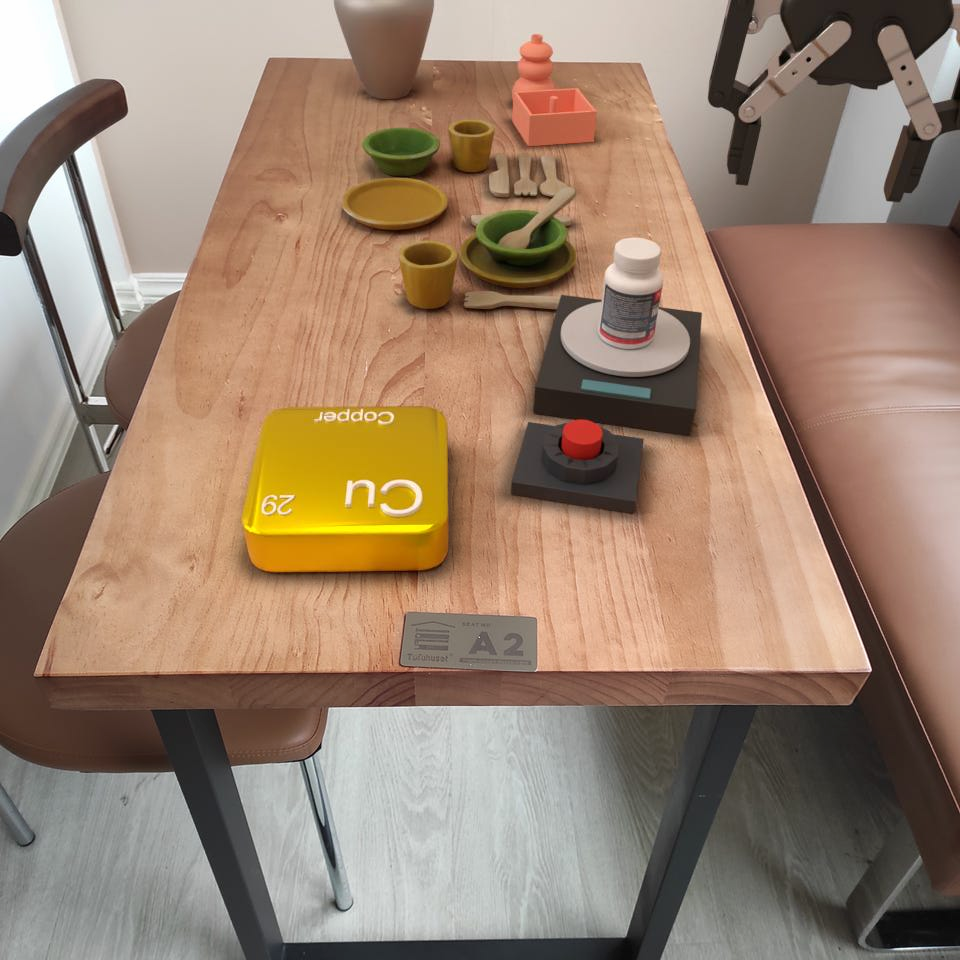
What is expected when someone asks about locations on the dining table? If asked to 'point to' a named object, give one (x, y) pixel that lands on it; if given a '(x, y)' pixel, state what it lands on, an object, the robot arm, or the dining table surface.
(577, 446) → the button
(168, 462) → the dining table surface
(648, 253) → the pill bottle
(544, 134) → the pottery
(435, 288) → the tableware set
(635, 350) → the scale
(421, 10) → the vase
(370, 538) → the element tile
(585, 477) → the block
